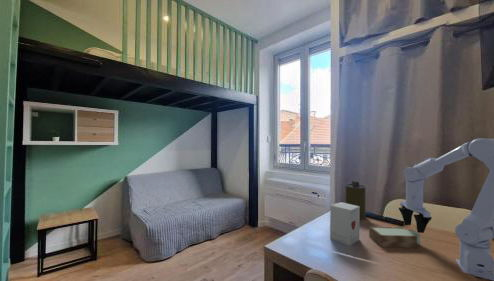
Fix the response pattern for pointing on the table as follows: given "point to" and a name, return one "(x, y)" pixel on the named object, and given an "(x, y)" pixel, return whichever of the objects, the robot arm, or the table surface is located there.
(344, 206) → the supplement box
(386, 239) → the tub
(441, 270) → the table surface
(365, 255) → the table surface
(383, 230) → the lid
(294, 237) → the table surface
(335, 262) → the table surface
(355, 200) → the canister
